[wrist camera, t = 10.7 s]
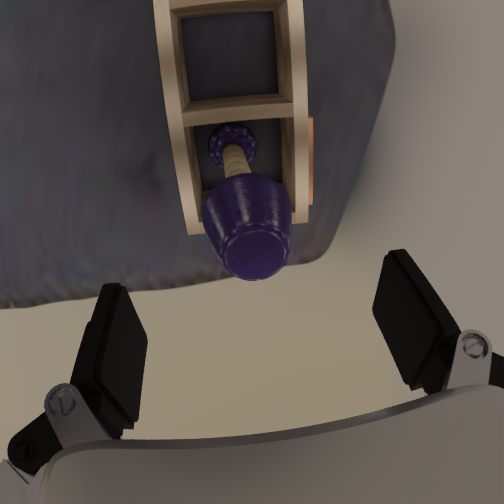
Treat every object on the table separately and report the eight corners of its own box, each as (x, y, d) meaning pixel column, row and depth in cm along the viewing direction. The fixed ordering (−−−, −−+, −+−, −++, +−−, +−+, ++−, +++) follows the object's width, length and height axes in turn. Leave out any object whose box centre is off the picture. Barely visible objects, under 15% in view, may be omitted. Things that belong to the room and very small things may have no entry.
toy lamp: (251, 112, 25) (286, 189, 12) (270, 158, 28) (319, 276, 14) (200, 134, 26) (173, 236, 13) (222, 178, 29) (223, 311, 15)
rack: (162, -68, 15) (148, -94, 10) (282, -77, 15) (297, -104, 10) (193, 201, 30) (188, 235, 25) (298, 191, 30) (314, 221, 25)
